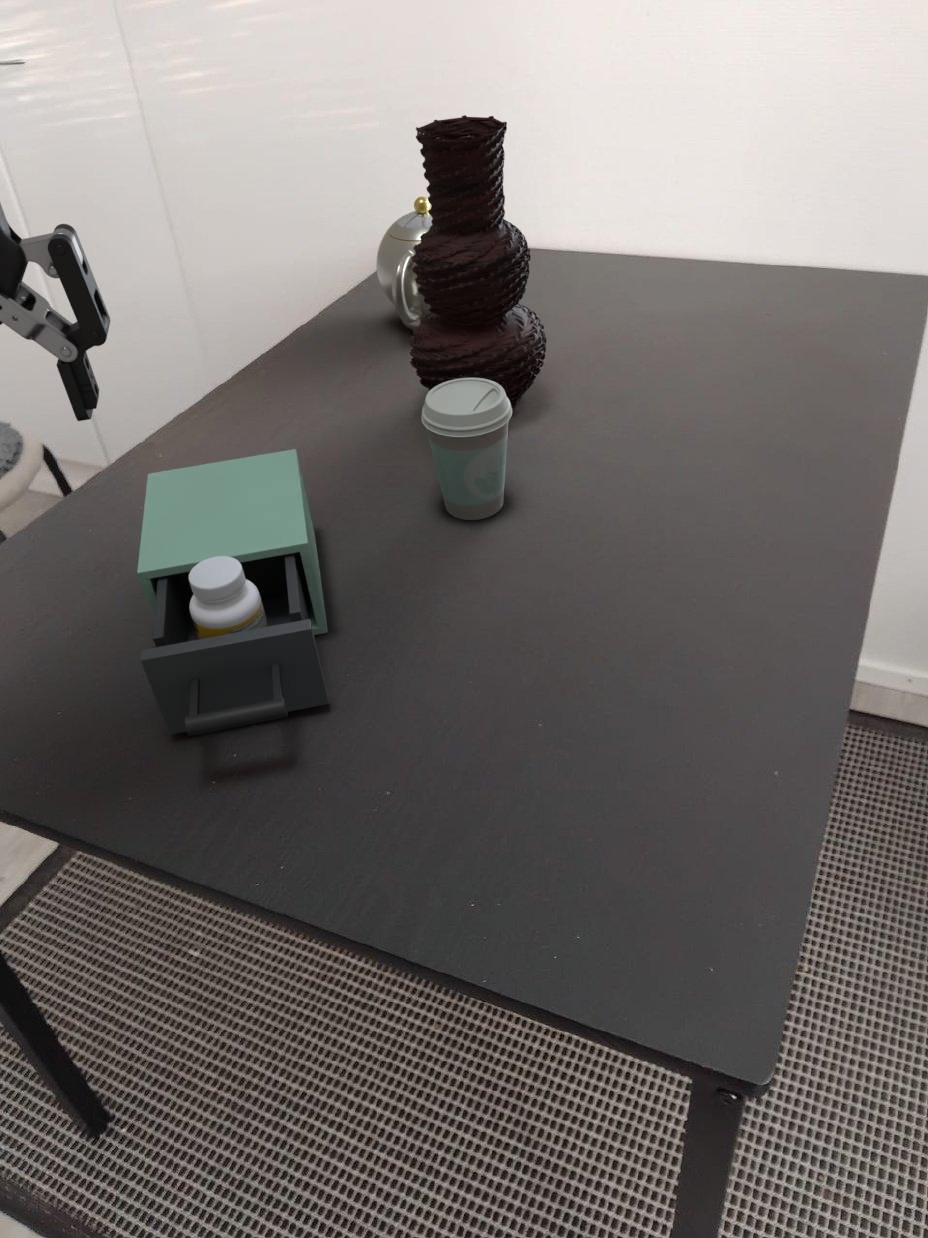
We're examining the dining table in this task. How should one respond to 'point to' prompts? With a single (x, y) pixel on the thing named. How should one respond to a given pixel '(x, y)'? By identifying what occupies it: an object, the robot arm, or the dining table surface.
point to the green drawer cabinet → (229, 521)
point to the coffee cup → (469, 444)
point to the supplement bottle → (224, 599)
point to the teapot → (404, 263)
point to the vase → (472, 265)
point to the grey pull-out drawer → (235, 655)
